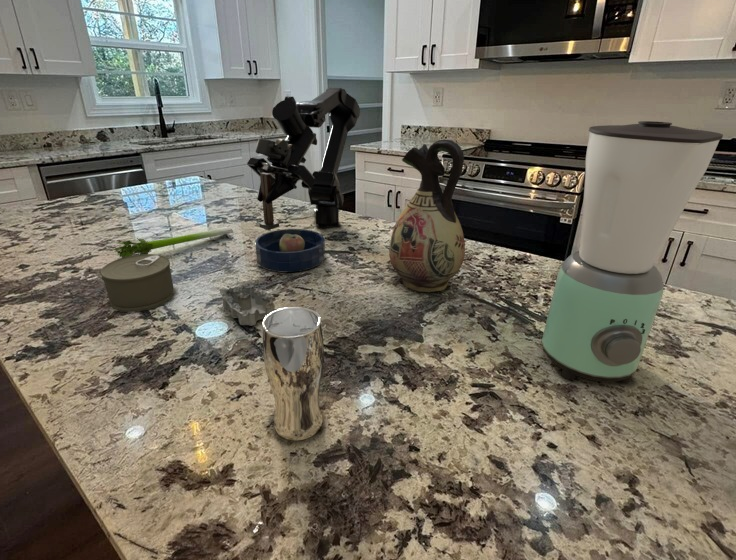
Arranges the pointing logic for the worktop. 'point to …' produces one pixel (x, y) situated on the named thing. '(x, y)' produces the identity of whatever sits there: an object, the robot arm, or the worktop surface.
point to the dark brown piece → (267, 208)
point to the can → (138, 282)
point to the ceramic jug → (429, 223)
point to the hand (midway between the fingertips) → (262, 201)
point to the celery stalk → (165, 242)
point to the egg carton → (247, 303)
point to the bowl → (290, 261)
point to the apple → (291, 243)
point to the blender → (622, 245)
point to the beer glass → (294, 369)
